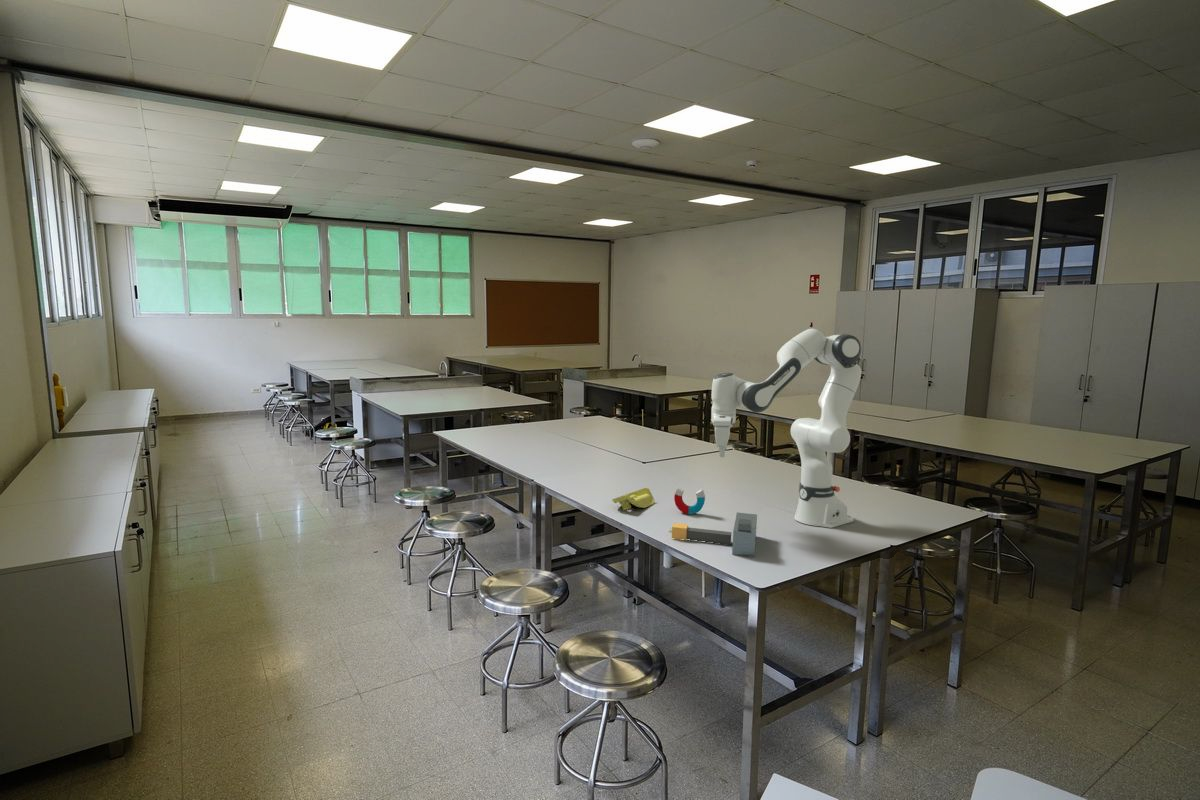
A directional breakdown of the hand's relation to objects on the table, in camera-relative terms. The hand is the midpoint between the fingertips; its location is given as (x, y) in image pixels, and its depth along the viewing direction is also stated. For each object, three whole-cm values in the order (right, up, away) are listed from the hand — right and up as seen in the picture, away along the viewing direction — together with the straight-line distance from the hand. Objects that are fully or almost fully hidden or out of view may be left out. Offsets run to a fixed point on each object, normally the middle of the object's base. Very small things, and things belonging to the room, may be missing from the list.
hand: (723, 453), depth 224 cm
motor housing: (+3, -29, -19) cm, 35 cm away
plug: (-11, -29, -15) cm, 34 cm away
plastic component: (-33, -24, +22) cm, 46 cm away
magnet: (-11, -25, +14) cm, 31 cm away
